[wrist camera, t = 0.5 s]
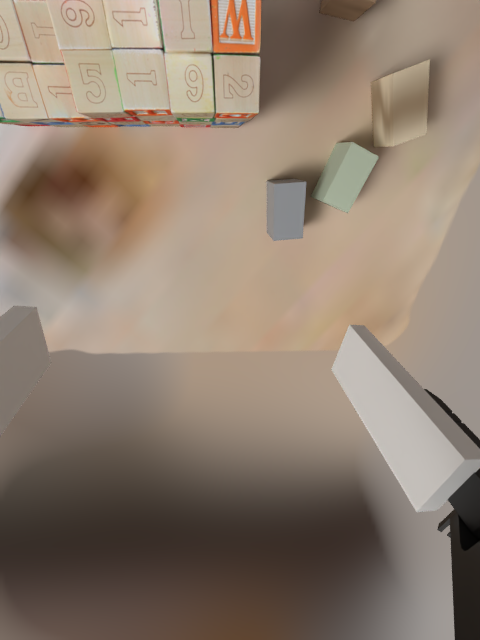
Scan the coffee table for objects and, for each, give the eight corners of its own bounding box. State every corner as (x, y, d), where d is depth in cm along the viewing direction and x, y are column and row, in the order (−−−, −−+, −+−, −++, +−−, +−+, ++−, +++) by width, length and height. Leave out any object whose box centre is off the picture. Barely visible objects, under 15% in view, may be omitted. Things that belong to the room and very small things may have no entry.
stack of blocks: (26, 128, 27) (-82, 113, 17) (-4, 41, 24) (-160, -43, 14) (239, 128, 30) (261, 114, 19) (238, 48, 26) (264, -21, 16)
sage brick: (335, 143, 31) (352, 141, 28) (360, 156, 32) (378, 157, 29) (310, 196, 34) (322, 201, 31) (333, 207, 35) (347, 213, 32)
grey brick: (266, 180, 32) (274, 183, 29) (295, 178, 33) (306, 181, 29) (266, 232, 36) (273, 240, 32) (292, 230, 36) (302, 238, 33)
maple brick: (370, 82, 29) (392, 73, 26) (402, 70, 29) (429, 59, 25) (372, 147, 32) (393, 146, 29) (402, 136, 32) (426, 134, 28)
